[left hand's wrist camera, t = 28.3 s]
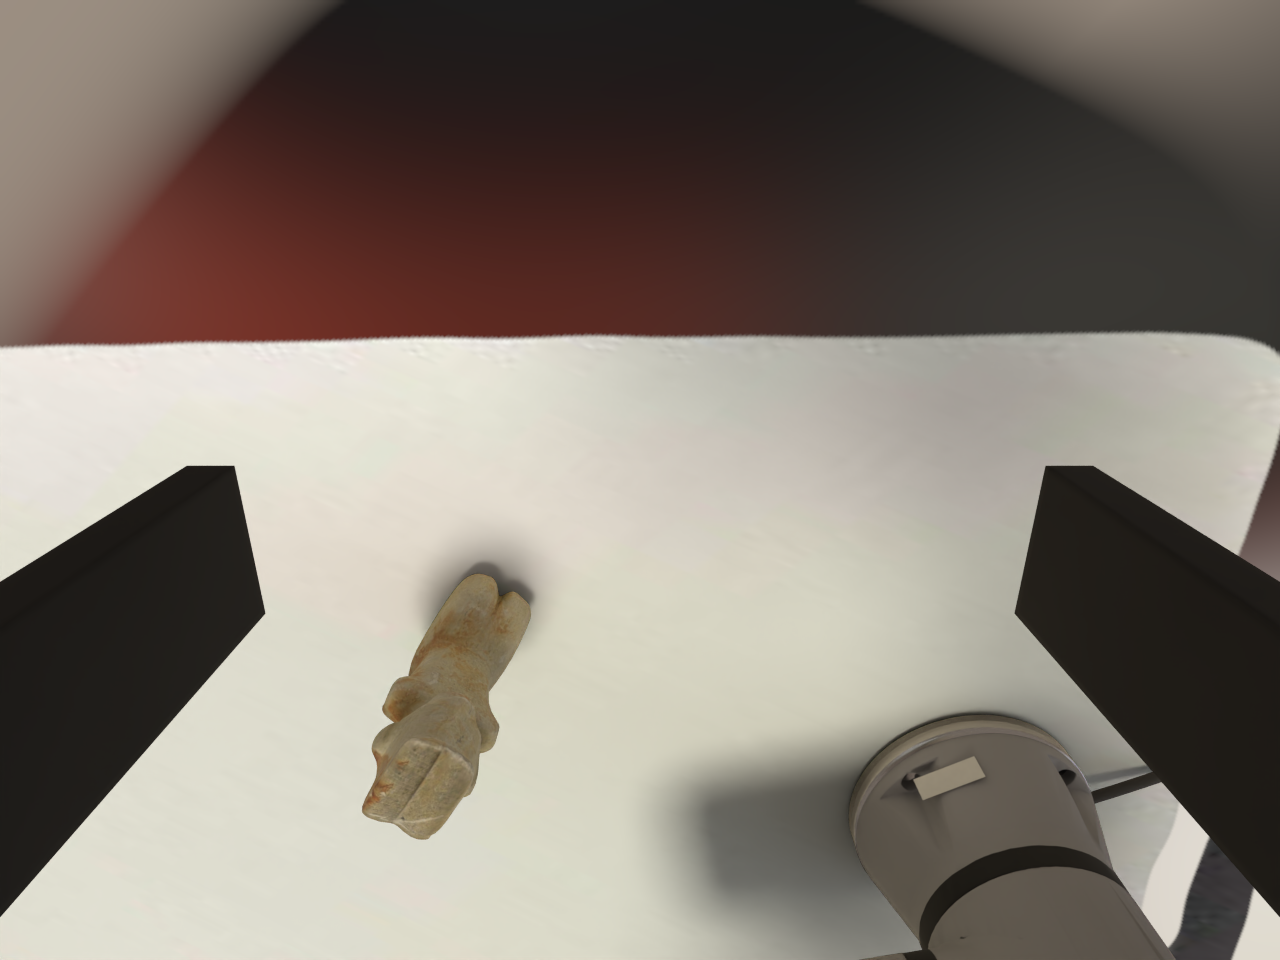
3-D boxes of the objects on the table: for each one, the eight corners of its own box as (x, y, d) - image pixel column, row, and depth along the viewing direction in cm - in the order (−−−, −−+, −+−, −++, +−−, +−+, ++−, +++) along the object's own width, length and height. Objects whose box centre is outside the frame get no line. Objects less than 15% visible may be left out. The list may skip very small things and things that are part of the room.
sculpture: (552, 605, 45) (512, 795, 31) (484, 683, 47) (418, 895, 33) (470, 550, 44) (390, 723, 30) (404, 634, 46) (300, 832, 32)
